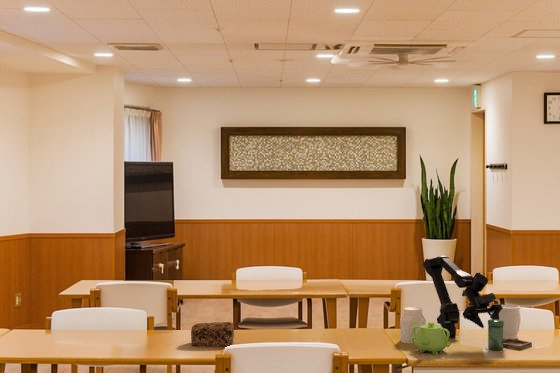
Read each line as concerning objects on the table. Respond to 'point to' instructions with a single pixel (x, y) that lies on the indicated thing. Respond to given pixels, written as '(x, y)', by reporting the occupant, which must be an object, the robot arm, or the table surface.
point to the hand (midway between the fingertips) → (491, 326)
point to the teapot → (431, 338)
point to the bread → (212, 334)
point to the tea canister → (495, 335)
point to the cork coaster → (496, 351)
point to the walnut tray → (516, 344)
